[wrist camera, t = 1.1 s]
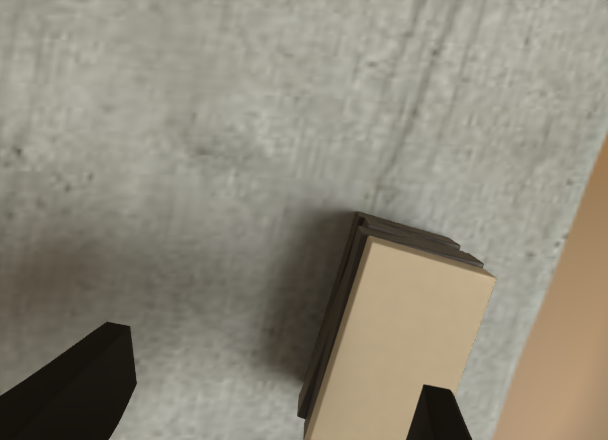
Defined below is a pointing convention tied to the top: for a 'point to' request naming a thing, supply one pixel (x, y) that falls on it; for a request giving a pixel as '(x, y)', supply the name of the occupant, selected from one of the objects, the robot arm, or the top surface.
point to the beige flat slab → (398, 340)
